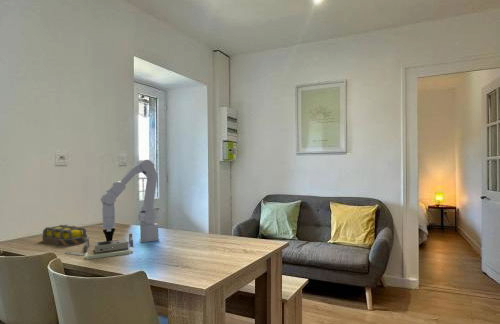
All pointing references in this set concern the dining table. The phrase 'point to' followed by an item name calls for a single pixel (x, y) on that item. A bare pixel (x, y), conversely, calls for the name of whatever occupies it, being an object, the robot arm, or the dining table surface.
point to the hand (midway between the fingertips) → (109, 243)
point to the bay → (108, 254)
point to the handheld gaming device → (111, 245)
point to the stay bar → (75, 253)
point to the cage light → (64, 235)
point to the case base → (88, 242)
